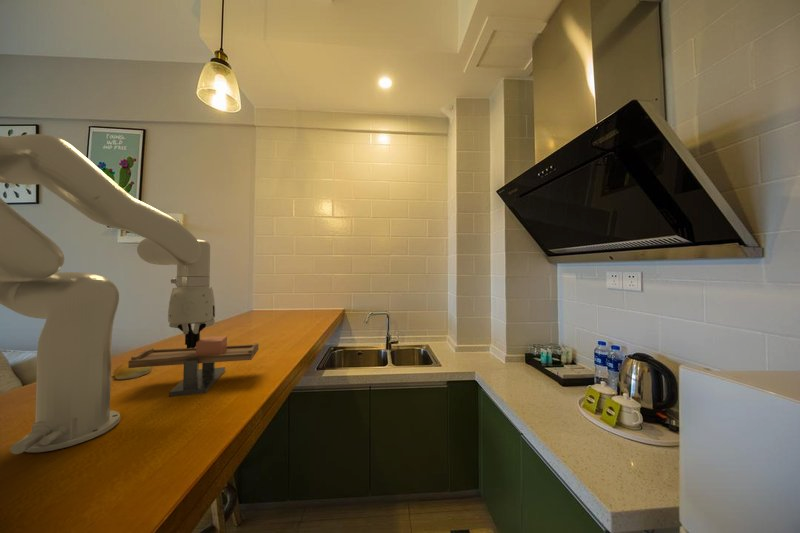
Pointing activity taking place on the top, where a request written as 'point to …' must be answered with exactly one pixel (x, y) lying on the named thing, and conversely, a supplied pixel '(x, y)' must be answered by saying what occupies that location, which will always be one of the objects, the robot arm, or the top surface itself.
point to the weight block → (211, 345)
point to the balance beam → (190, 356)
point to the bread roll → (130, 371)
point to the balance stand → (197, 378)
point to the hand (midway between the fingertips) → (192, 346)
